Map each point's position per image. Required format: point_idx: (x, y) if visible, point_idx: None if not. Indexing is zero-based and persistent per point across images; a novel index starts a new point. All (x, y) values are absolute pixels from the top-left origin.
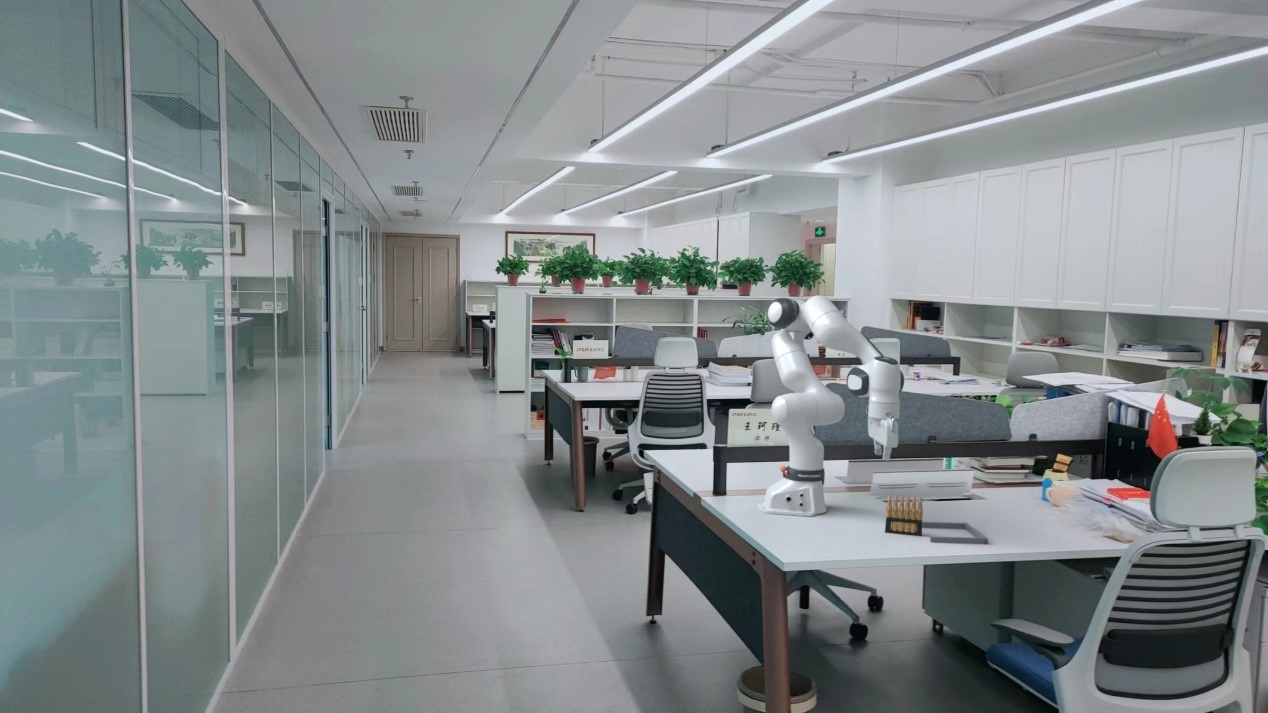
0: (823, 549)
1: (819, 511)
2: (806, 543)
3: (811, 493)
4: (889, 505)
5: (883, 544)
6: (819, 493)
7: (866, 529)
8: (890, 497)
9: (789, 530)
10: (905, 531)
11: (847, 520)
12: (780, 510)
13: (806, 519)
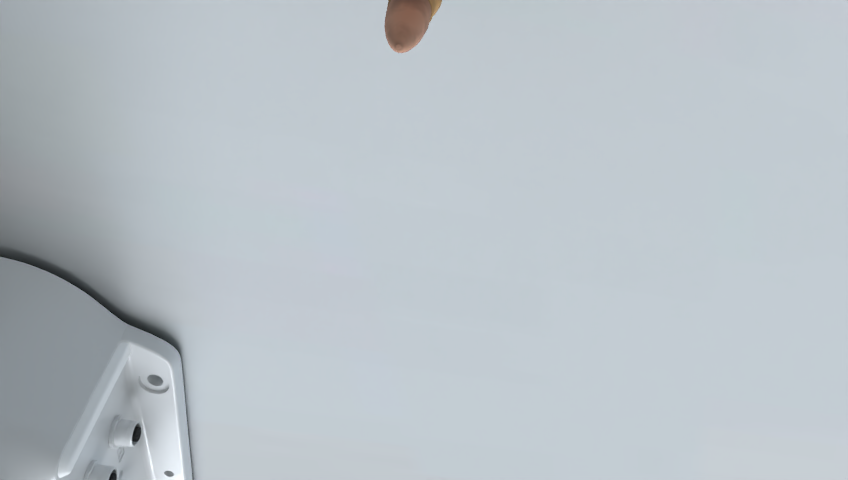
0: (814, 382)
1: (91, 313)
2: (698, 431)
3: (81, 449)
4: (434, 10)
5: (745, 40)
6: (8, 392)
7: (360, 82)
8: (419, 30)
9: (465, 461)
10: None
11: (158, 163)
12: (163, 475)
13: (223, 369)
